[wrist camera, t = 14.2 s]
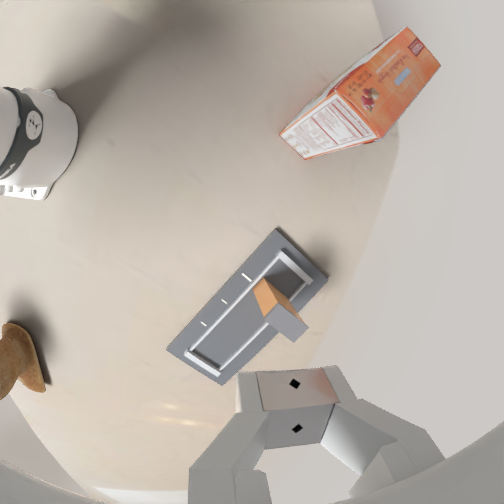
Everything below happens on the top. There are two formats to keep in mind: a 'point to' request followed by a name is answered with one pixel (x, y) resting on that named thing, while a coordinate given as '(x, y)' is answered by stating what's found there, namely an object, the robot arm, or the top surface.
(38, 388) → the tan ugg boot
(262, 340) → the grey fader base
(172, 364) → the top surface
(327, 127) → the cracker box
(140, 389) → the top surface
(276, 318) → the fader cap
